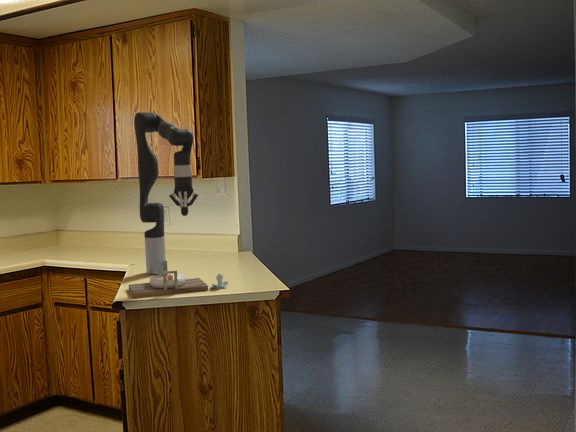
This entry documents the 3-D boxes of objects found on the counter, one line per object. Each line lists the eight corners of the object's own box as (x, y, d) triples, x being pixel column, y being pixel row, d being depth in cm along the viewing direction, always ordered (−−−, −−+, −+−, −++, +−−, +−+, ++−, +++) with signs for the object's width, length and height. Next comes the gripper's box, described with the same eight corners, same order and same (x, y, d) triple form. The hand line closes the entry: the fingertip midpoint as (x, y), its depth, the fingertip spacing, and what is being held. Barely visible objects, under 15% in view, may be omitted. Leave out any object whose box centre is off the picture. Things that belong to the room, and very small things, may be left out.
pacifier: (207, 288, 272) (215, 290, 267) (206, 273, 271) (214, 275, 267) (221, 286, 276) (230, 287, 272) (220, 271, 276) (229, 272, 271)
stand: (128, 289, 274) (127, 267, 273) (199, 282, 284) (198, 261, 283) (133, 298, 257) (131, 275, 256) (208, 290, 267) (207, 268, 266)
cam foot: (142, 280, 282) (141, 258, 281) (175, 276, 287) (174, 255, 286) (154, 289, 261) (152, 266, 260) (189, 285, 267) (188, 263, 266)
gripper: (165, 176, 280) (167, 216, 281) (195, 175, 278) (197, 216, 280) (170, 175, 287) (172, 215, 289) (200, 175, 286) (201, 214, 287)
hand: (184, 215), depth 284 cm, fingers closed
